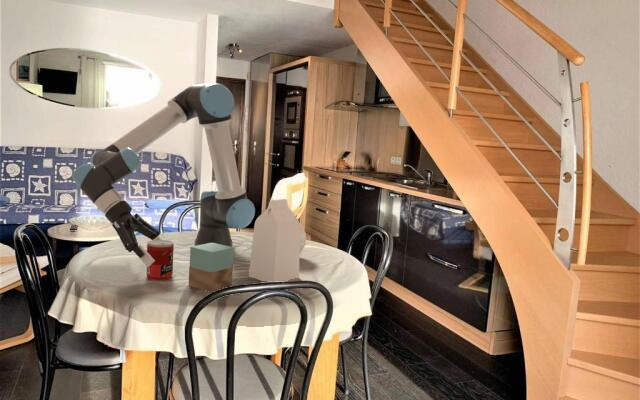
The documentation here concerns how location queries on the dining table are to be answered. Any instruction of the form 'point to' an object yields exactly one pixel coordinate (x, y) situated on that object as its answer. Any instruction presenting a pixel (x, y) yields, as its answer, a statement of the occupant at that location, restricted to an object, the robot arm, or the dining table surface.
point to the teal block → (211, 257)
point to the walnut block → (210, 279)
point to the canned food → (160, 259)
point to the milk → (275, 244)
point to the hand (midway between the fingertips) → (160, 258)
